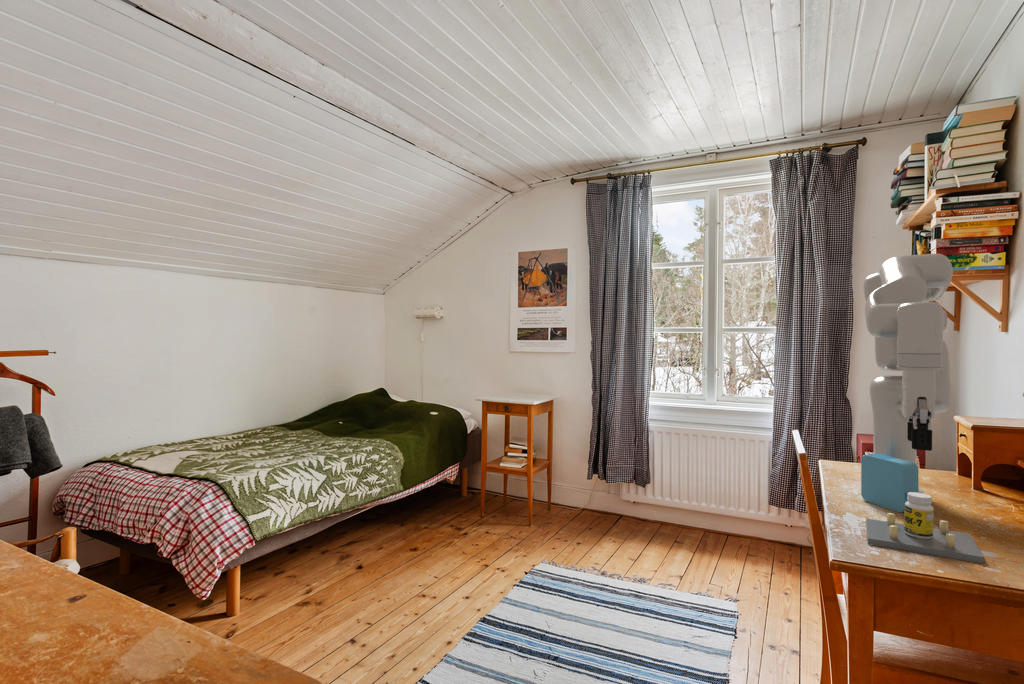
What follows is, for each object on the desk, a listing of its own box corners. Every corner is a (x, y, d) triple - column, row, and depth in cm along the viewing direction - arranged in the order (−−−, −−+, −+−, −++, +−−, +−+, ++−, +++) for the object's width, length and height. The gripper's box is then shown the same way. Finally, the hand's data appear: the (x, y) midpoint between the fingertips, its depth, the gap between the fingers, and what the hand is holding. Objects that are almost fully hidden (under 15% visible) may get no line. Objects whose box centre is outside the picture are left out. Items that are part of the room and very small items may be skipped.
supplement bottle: (898, 532, 112) (899, 492, 112) (914, 529, 114) (915, 490, 114) (922, 540, 108) (923, 499, 108) (938, 538, 109) (939, 497, 109)
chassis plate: (866, 523, 121) (866, 507, 121) (969, 539, 112) (969, 521, 112) (867, 543, 110) (867, 525, 110) (983, 563, 100) (983, 543, 100)
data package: (919, 512, 129) (919, 462, 129) (903, 514, 128) (903, 464, 128) (875, 498, 141) (875, 452, 141) (860, 499, 140) (860, 453, 140)
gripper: (894, 360, 120) (894, 436, 120) (900, 364, 105) (899, 451, 105) (937, 360, 116) (936, 440, 116) (949, 365, 101) (948, 455, 101)
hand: (919, 445), depth 111 cm, fingers open, 9 cm apart
